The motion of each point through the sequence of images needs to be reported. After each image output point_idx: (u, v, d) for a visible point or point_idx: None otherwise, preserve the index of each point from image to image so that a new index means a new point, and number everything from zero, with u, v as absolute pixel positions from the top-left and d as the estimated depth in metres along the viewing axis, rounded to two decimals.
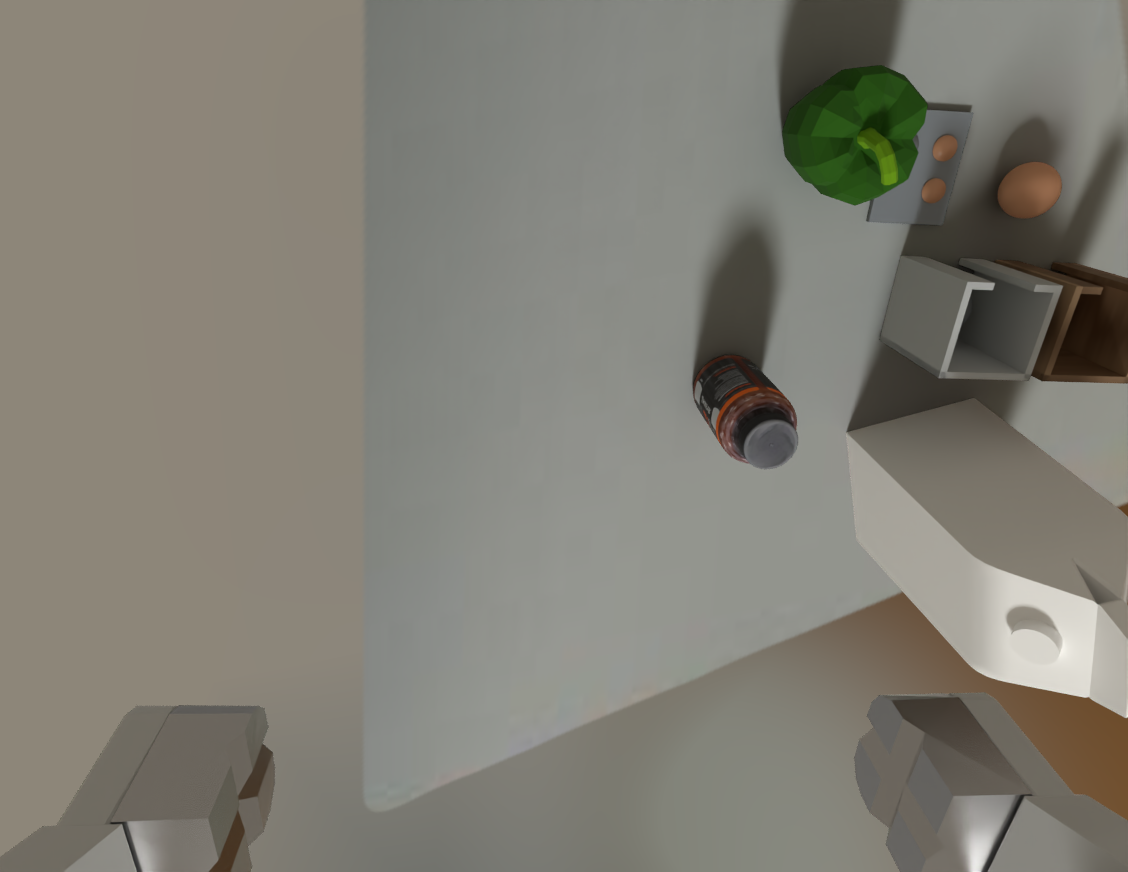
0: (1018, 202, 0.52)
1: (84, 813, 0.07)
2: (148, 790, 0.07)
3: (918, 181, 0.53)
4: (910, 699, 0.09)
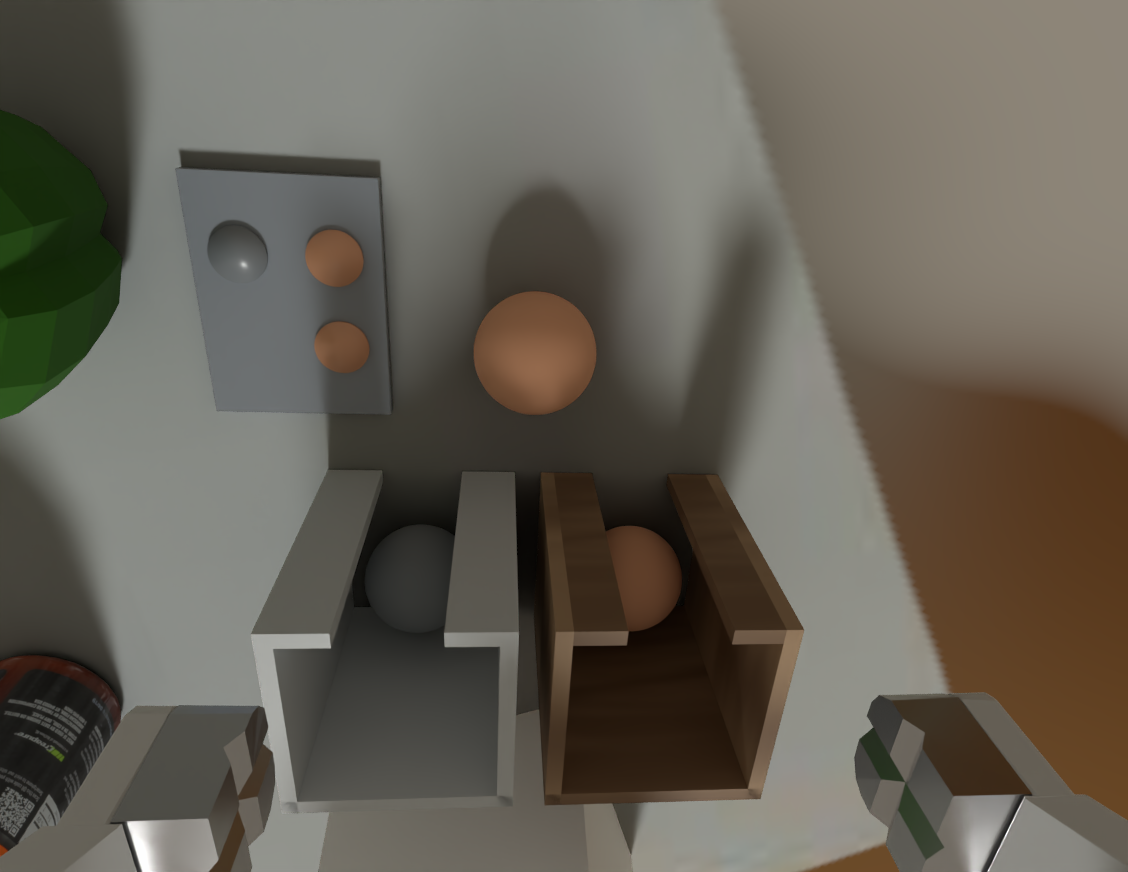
0: (491, 388, 0.22)
1: (84, 813, 0.07)
2: (148, 790, 0.07)
3: (300, 328, 0.24)
4: (910, 699, 0.09)
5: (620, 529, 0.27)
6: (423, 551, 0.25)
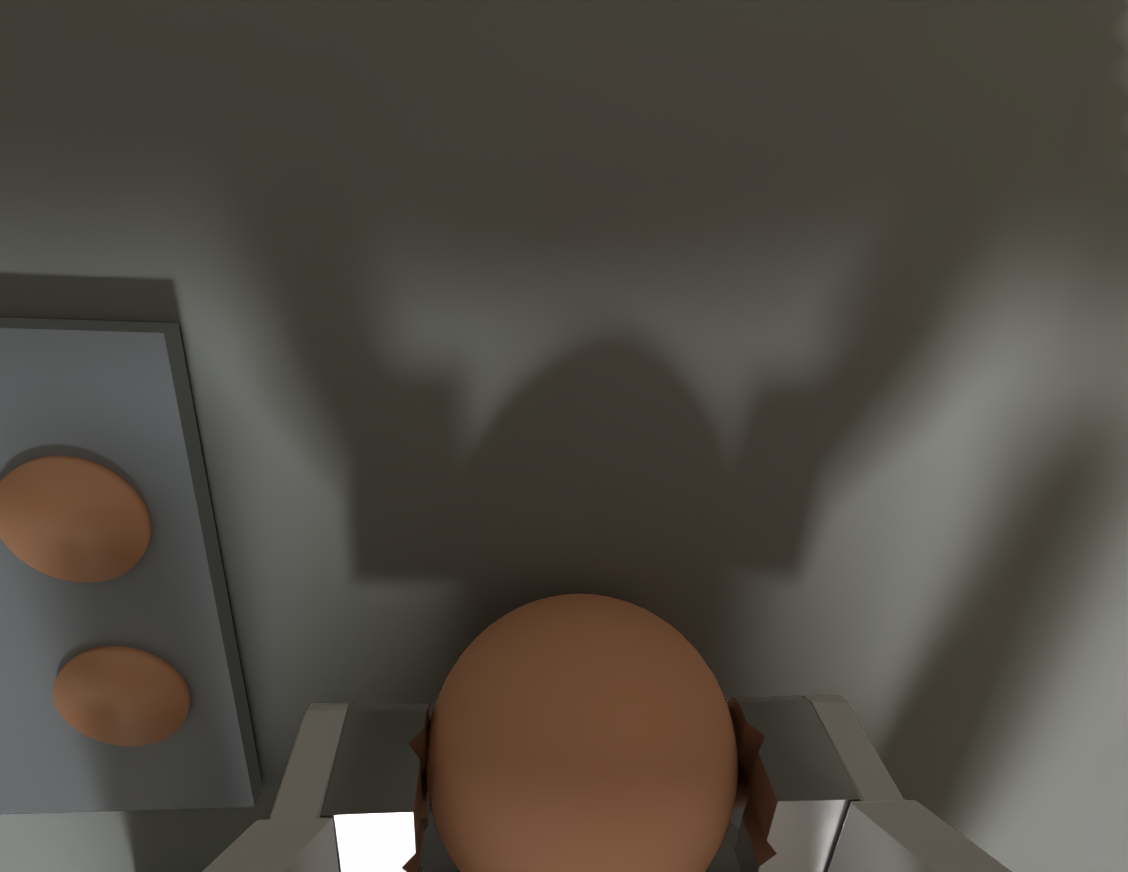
0: None
1: (294, 807, 0.07)
2: (348, 785, 0.08)
3: (16, 663, 0.10)
4: (759, 701, 0.09)
5: None
6: None
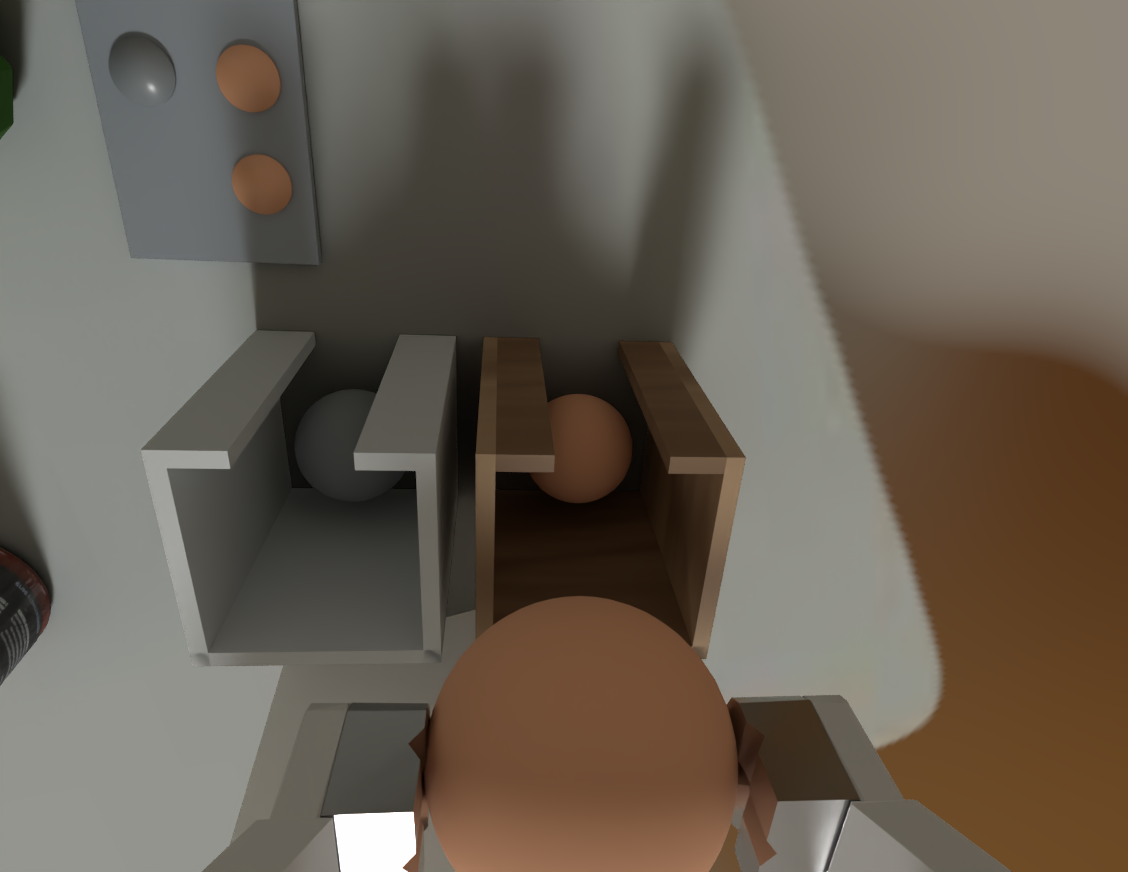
0: None
1: (294, 807, 0.07)
2: (348, 785, 0.08)
3: (215, 162, 0.22)
4: (759, 701, 0.09)
5: (567, 395, 0.25)
6: (354, 409, 0.24)
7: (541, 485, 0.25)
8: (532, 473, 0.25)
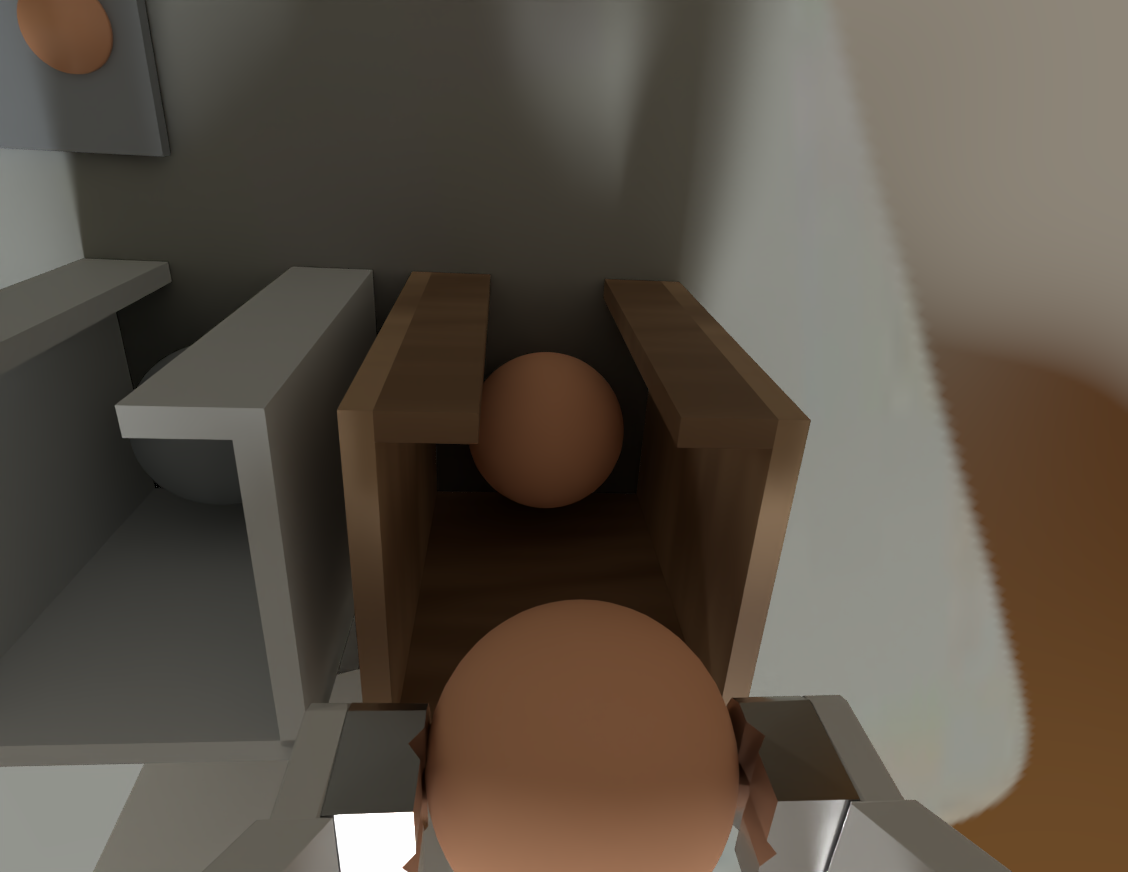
0: None
1: (293, 807, 0.07)
2: (348, 785, 0.08)
3: None
4: (760, 701, 0.09)
5: None
6: None
7: (491, 481, 0.17)
8: (478, 464, 0.17)
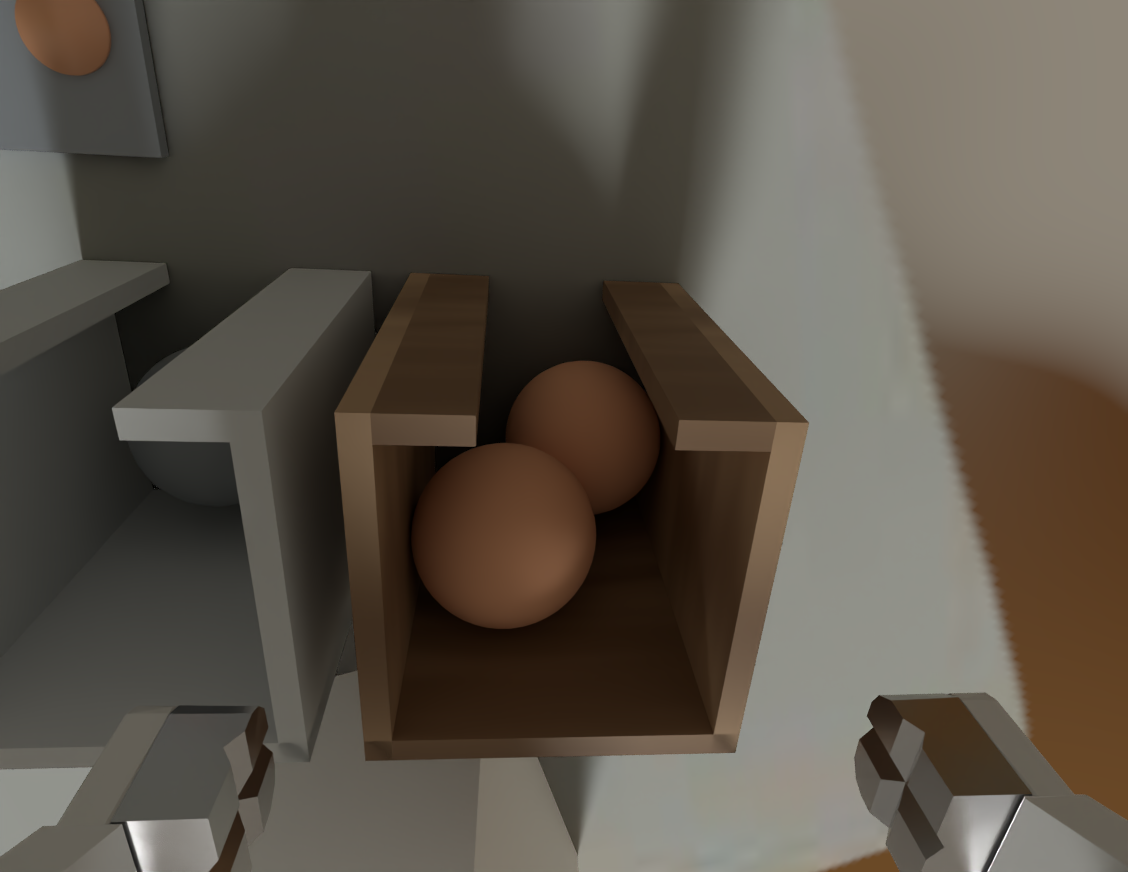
0: None
1: (84, 813, 0.07)
2: (148, 790, 0.07)
3: None
4: (910, 699, 0.09)
5: (562, 367, 0.18)
6: None
7: None
8: None
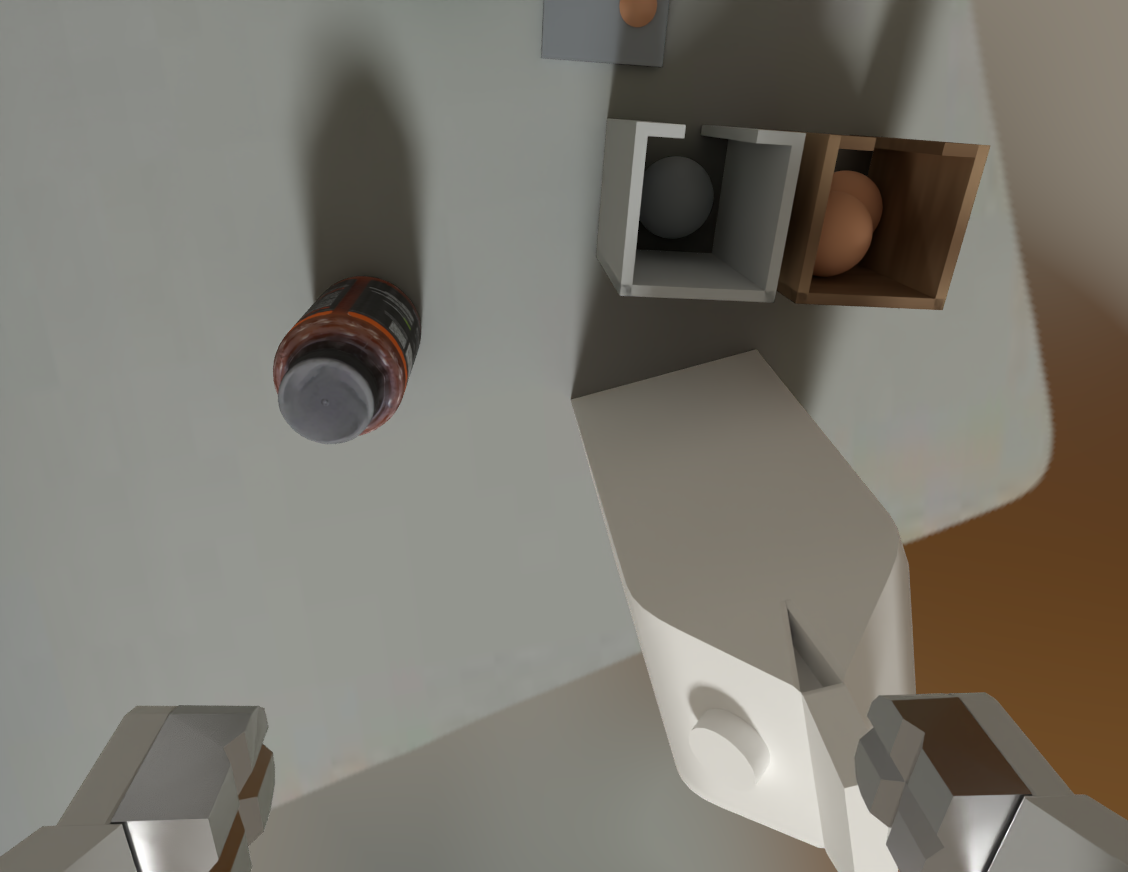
0: None
1: (84, 813, 0.07)
2: (148, 790, 0.07)
3: None
4: (910, 699, 0.09)
5: (836, 172, 0.36)
6: (687, 162, 0.35)
7: None
8: None
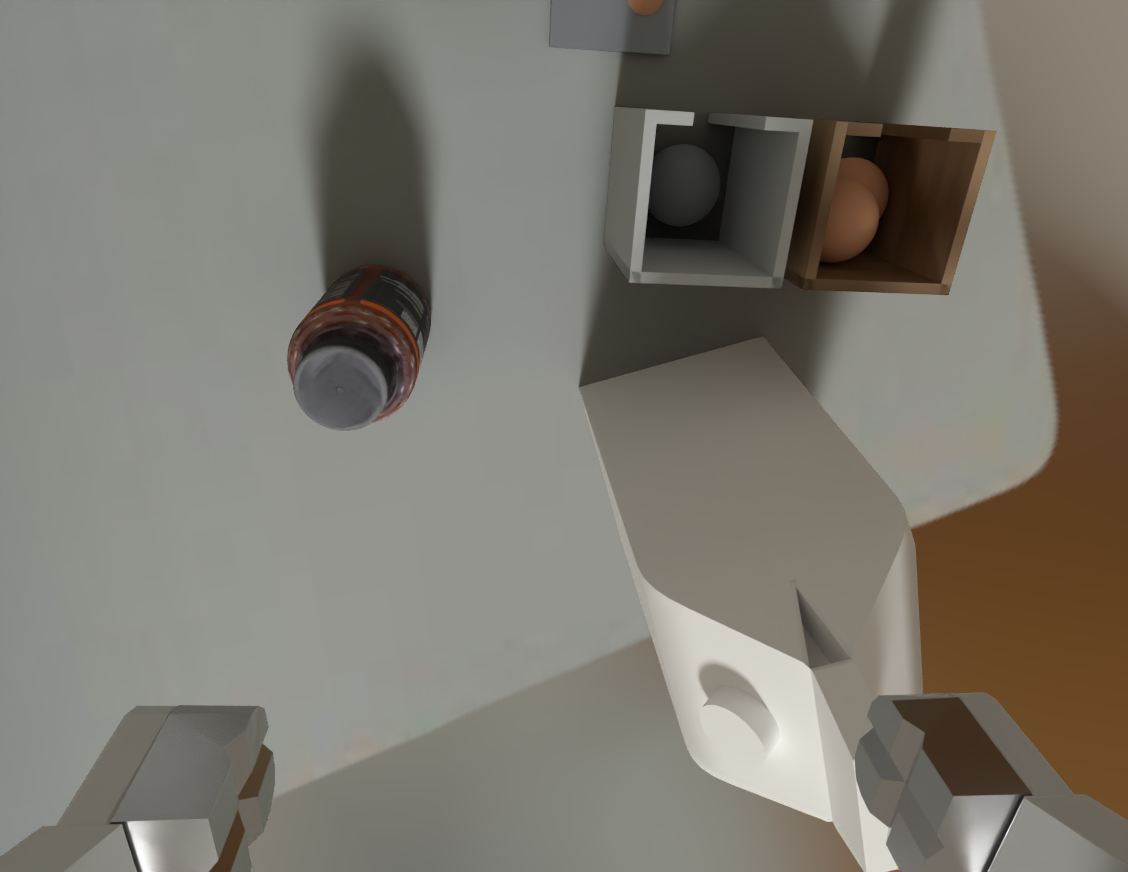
0: None
1: (84, 813, 0.07)
2: (148, 790, 0.07)
3: None
4: (910, 698, 0.09)
5: (843, 158, 0.37)
6: (694, 150, 0.35)
7: None
8: None
